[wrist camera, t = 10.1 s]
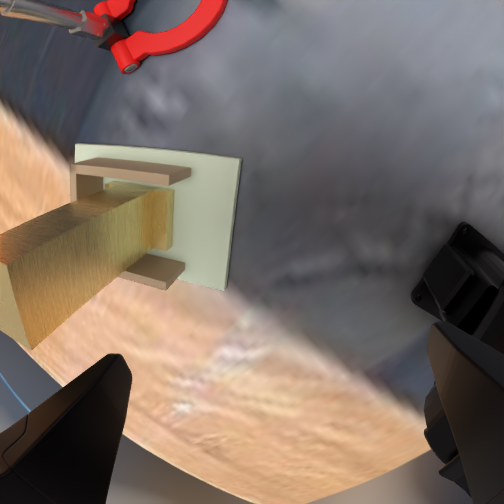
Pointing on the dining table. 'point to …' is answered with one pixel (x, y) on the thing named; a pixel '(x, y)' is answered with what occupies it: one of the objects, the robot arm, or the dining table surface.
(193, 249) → the pale green slotted base
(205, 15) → the tow hook
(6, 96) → the dining table surface
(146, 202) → the gold square pillar
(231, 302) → the dining table surface
